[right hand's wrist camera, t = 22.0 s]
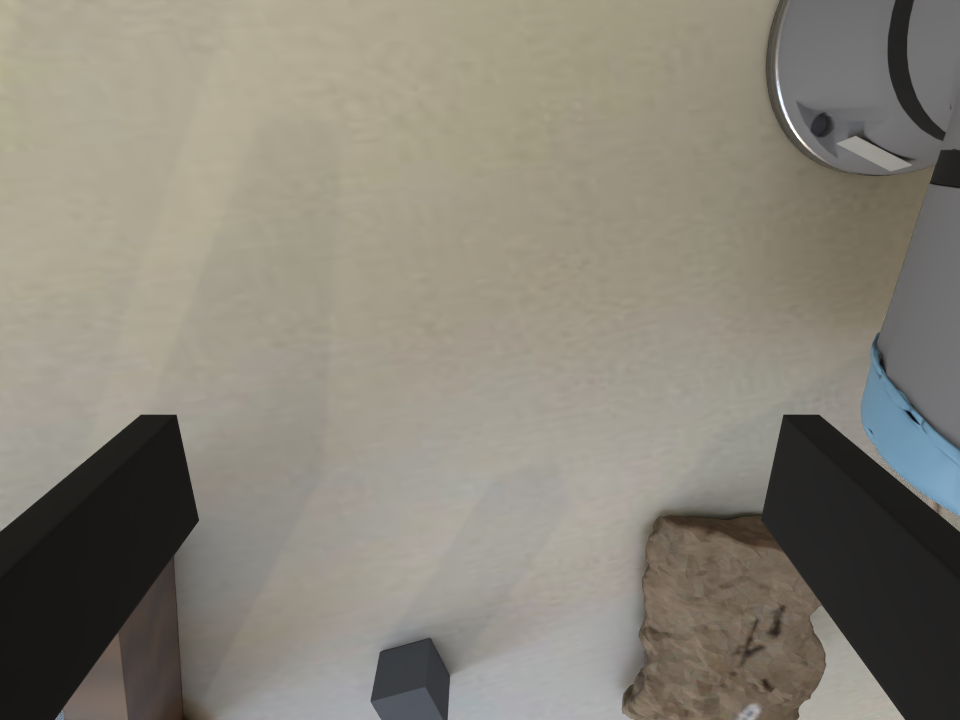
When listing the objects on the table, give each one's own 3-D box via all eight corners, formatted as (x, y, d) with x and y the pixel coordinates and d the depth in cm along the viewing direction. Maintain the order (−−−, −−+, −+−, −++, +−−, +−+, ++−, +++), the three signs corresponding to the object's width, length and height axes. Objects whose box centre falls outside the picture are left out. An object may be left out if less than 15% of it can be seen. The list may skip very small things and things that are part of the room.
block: (430, 637, 53) (425, 686, 48) (450, 675, 54) (447, 726, 50) (379, 651, 53) (370, 701, 49) (401, 689, 55) (393, 740, 50)
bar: (109, 511, 48) (40, 581, 40) (171, 518, 48) (114, 589, 40) (132, 730, 57) (80, 820, 50) (184, 735, 57) (140, 825, 50)
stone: (789, 731, 52) (810, 792, 46) (620, 696, 55) (621, 748, 49) (831, 516, 48) (861, 553, 42) (645, 490, 51) (649, 521, 45)
